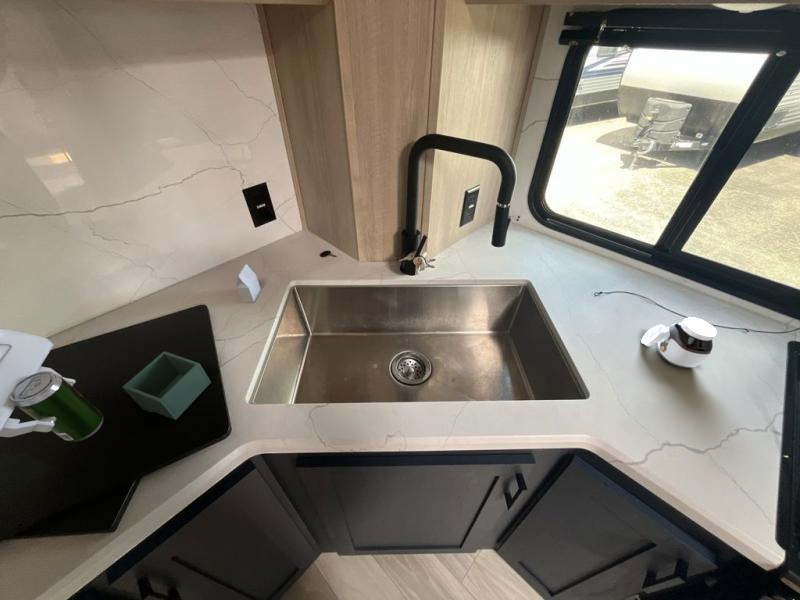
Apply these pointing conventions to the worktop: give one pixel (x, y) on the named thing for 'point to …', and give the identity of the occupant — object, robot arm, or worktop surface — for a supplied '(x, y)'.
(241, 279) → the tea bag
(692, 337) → the spread jar
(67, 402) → the beer can
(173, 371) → the bin
